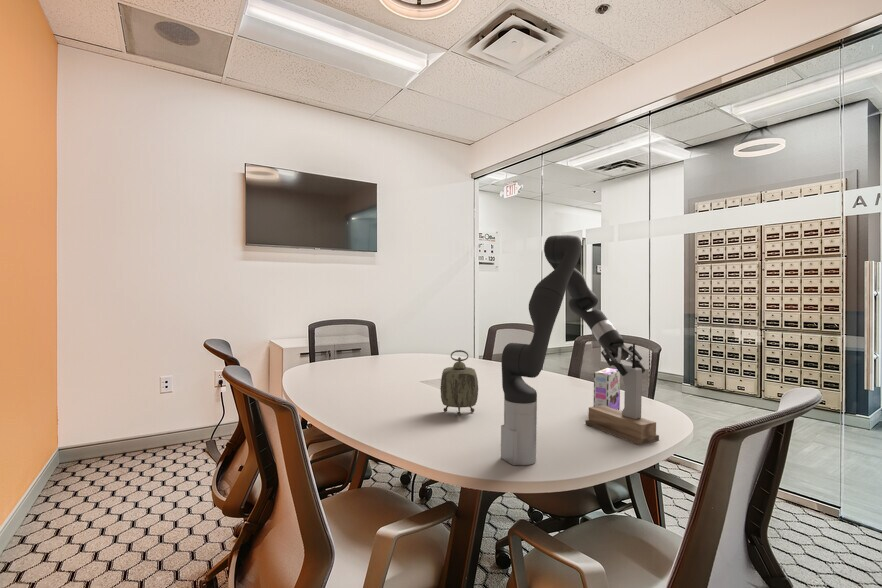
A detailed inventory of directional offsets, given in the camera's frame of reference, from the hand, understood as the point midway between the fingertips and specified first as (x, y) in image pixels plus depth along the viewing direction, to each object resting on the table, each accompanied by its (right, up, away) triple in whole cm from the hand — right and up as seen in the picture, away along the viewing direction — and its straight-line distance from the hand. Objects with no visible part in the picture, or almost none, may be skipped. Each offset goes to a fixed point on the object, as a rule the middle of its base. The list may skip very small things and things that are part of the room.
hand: (634, 373), depth 139 cm
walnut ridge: (-3, -21, +5) cm, 22 cm away
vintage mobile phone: (0, -15, +2) cm, 16 cm away
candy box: (+3, -21, +30) cm, 37 cm away
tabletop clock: (-58, -21, +23) cm, 65 cm away
